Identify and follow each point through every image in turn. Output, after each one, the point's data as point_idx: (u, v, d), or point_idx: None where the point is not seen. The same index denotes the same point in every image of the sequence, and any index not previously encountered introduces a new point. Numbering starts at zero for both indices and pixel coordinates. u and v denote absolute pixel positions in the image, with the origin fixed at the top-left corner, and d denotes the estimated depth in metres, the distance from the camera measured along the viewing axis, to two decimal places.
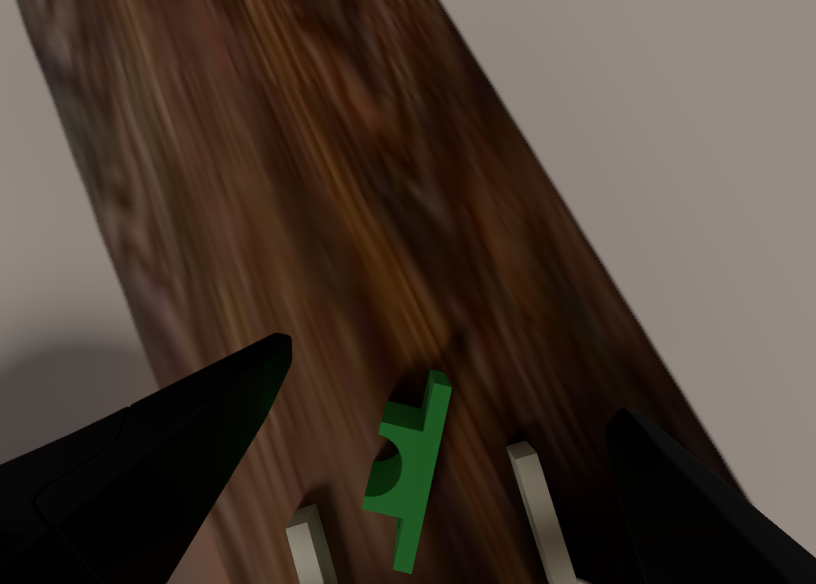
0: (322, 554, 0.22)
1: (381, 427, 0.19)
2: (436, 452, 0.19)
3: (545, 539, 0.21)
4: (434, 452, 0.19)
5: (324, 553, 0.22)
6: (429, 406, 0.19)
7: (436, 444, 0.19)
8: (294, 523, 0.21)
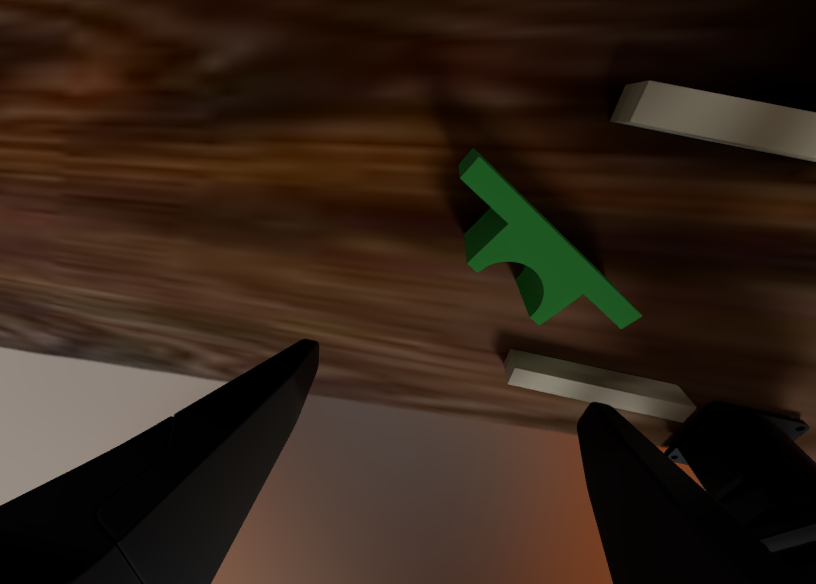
0: (554, 368, 0.21)
1: (472, 266, 0.15)
2: (542, 221, 0.14)
3: (763, 138, 0.13)
4: (541, 223, 0.14)
5: (555, 365, 0.22)
6: (484, 199, 0.14)
7: (534, 216, 0.14)
8: (509, 375, 0.21)
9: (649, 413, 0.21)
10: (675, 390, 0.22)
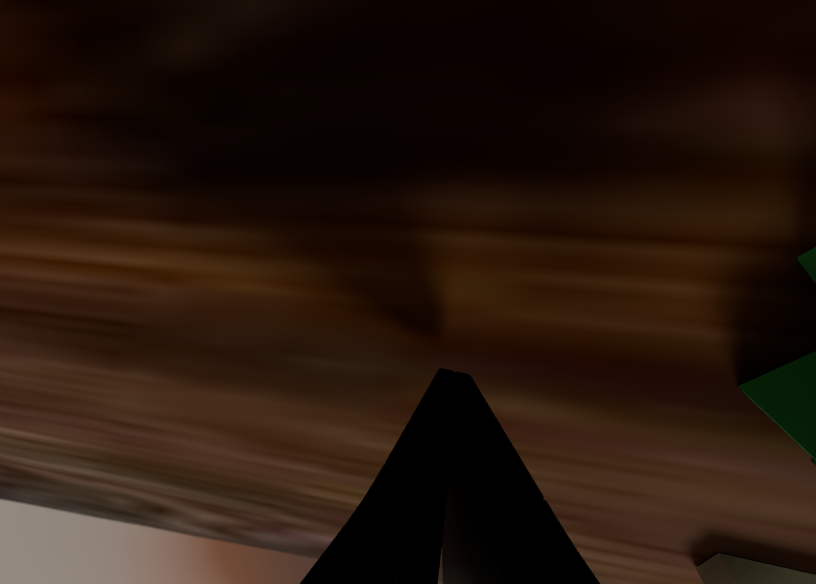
0: None
1: None
2: None
3: None
4: None
5: None
6: None
7: None
8: None
9: None
10: None
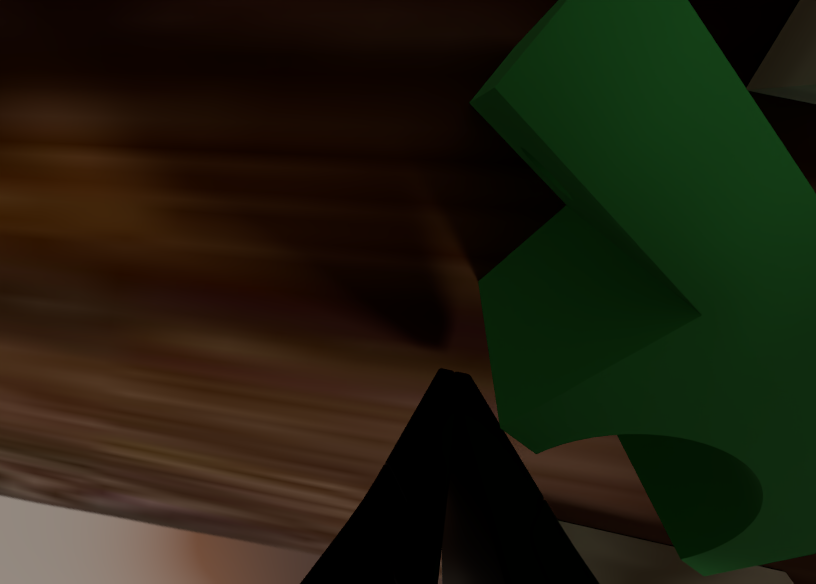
0: None
1: (520, 436, 0.04)
2: None
3: None
4: None
5: None
6: (609, 206, 0.03)
7: None
8: None
9: None
10: None
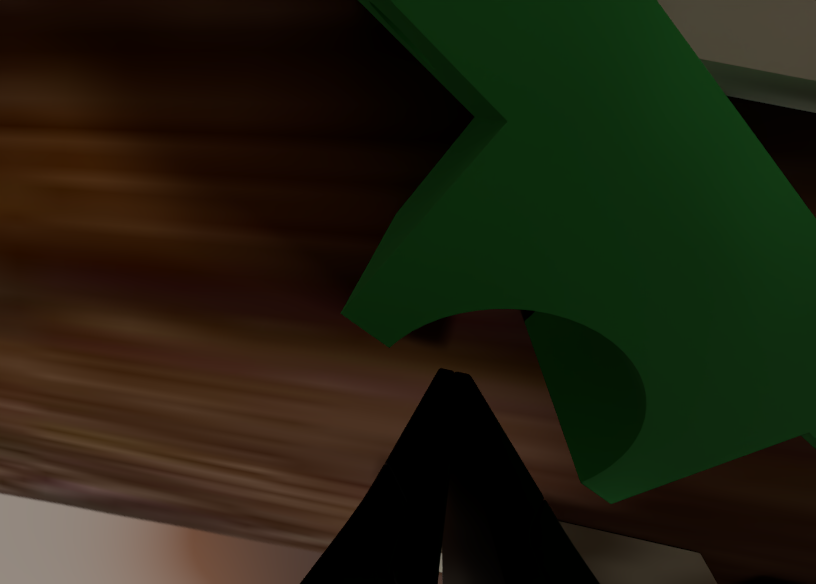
0: None
1: (366, 323, 0.04)
2: (706, 96, 0.02)
3: None
4: (692, 113, 0.02)
5: None
6: None
7: (659, 62, 0.02)
8: None
9: None
10: (696, 570, 0.12)
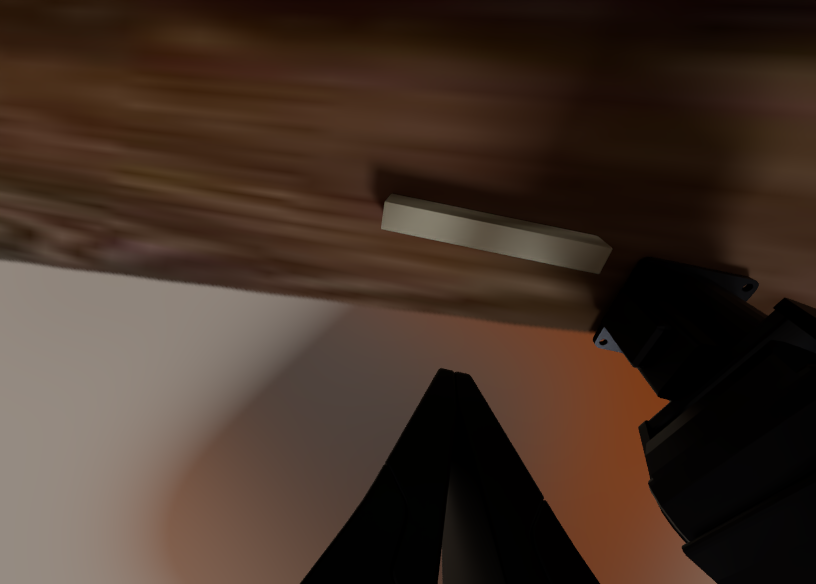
0: (439, 208, 0.17)
1: None
2: None
3: None
4: None
5: (442, 207, 0.17)
6: None
7: None
8: (383, 218, 0.17)
9: (557, 262, 0.17)
10: (591, 237, 0.17)
